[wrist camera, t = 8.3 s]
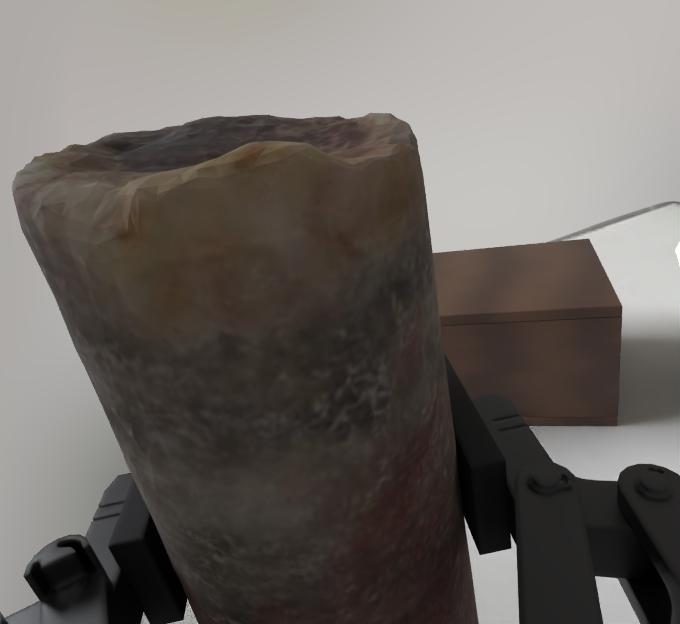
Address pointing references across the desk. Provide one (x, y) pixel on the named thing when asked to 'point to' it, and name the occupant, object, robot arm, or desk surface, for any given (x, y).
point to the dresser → (534, 329)
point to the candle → (268, 358)
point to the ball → (678, 252)
